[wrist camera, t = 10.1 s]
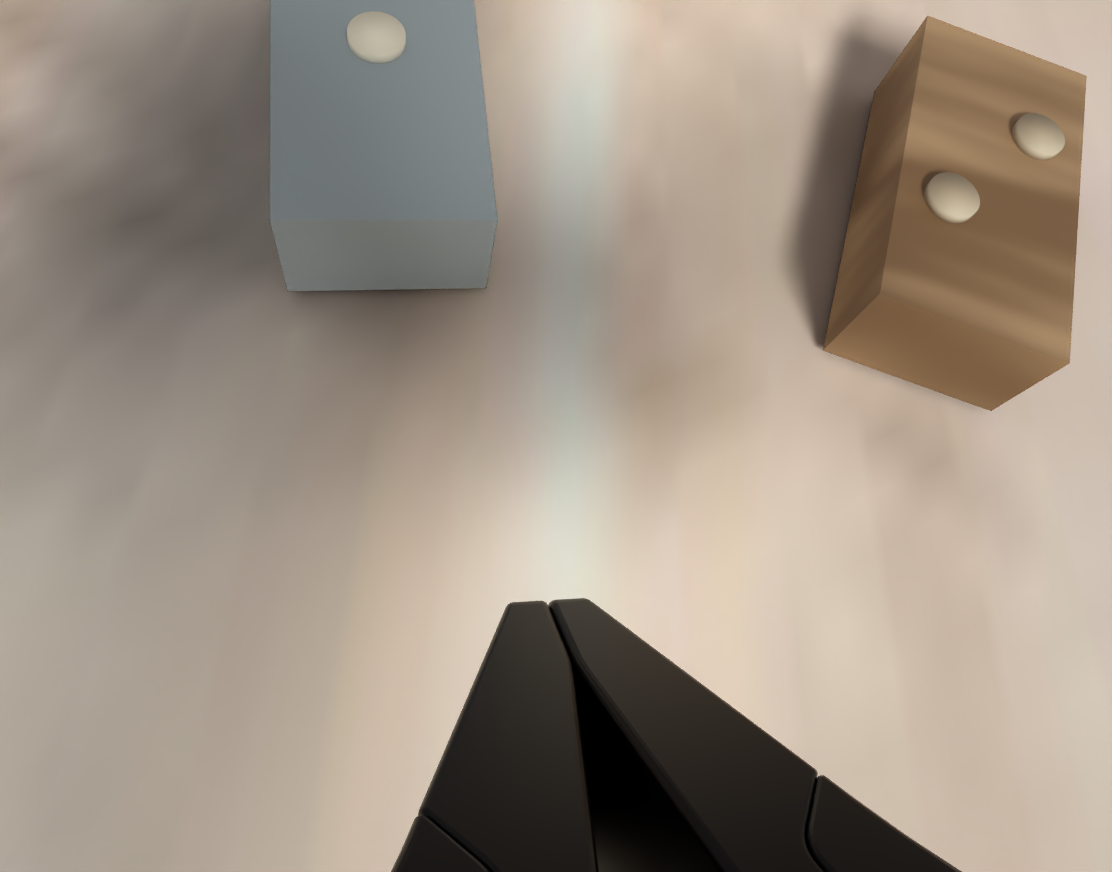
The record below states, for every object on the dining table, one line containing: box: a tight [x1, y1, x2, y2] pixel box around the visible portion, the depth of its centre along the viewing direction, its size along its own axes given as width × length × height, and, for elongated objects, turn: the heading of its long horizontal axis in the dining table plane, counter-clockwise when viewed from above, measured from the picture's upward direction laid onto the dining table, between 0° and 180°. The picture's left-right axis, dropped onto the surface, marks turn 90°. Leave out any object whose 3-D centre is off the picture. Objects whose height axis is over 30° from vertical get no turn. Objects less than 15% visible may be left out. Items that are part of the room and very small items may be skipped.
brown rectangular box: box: [823, 16, 1086, 411], centre depth 24 cm, size 4×5×10 cm
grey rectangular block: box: [270, 0, 497, 291], centre depth 22 cm, size 4×5×10 cm
